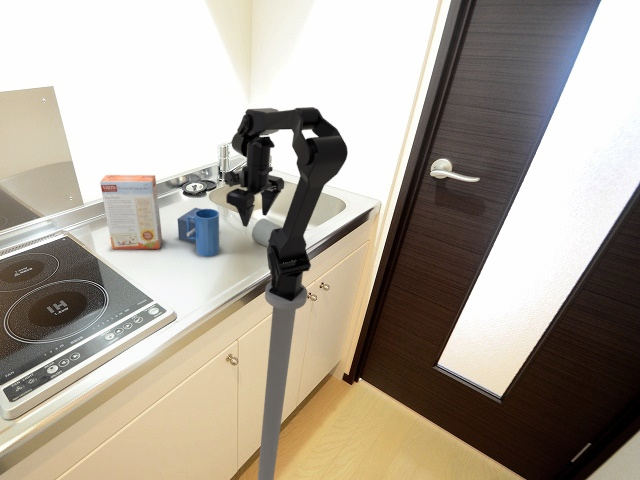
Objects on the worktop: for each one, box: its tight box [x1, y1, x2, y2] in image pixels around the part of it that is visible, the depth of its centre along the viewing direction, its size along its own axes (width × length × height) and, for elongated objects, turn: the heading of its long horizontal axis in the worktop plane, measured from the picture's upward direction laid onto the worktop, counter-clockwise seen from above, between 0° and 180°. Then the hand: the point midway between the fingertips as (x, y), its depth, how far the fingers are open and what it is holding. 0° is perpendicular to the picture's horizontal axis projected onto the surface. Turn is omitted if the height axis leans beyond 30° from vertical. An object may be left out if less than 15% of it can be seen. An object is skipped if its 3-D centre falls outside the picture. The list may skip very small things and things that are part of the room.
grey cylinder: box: [251, 217, 283, 248], centre depth 111 cm, size 11×8×8 cm
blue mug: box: [186, 208, 220, 258], centre depth 105 cm, size 10×7×12 cm, turn 64°
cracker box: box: [99, 174, 163, 250], centre depth 105 cm, size 14×6×21 cm, turn 92°
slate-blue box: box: [177, 207, 202, 245], centre depth 112 cm, size 15×8×7 cm, turn 154°
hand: (255, 220), depth 98 cm, fingers open, 9 cm apart
